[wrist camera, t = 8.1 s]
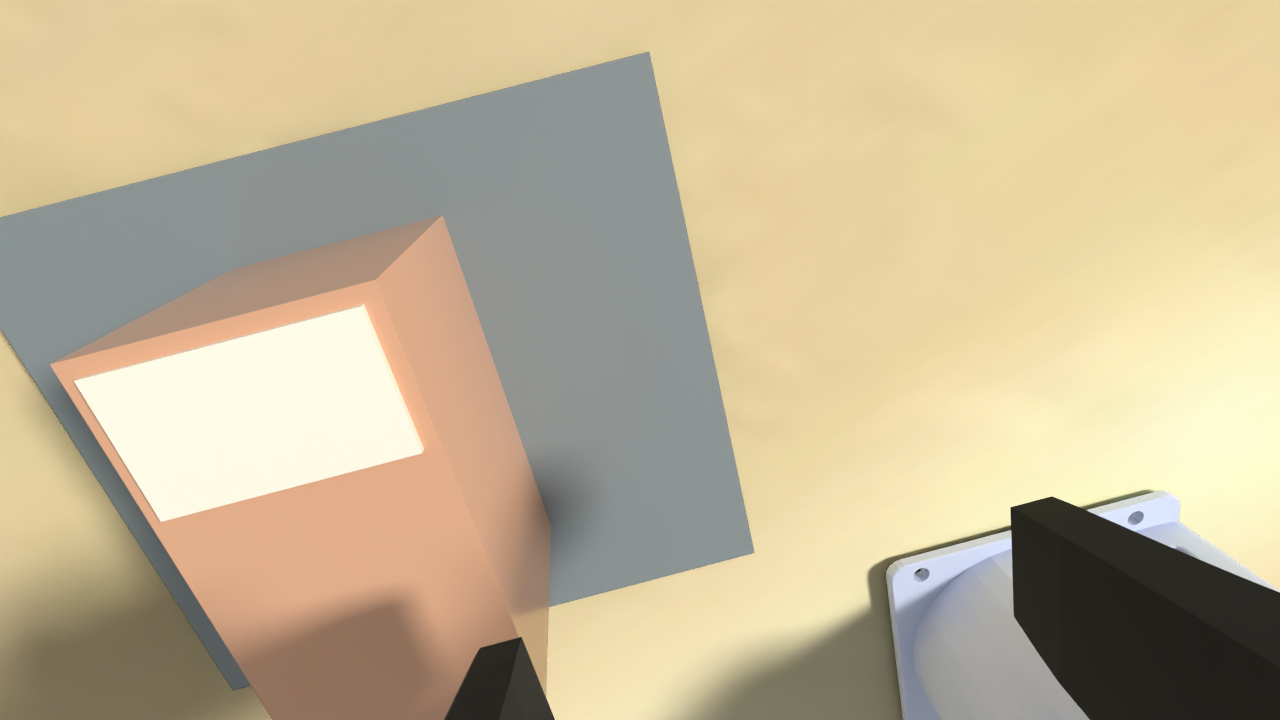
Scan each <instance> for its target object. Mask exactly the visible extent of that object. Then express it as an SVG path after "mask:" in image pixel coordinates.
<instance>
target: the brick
mask: <svg viewBox="0 0 1280 720" xmlns="http://www.w3.org/2000/svg"><path fill="white" fill-rule="evenodd" d="M50 366H51V367H52V369H53V370H54V372H55V374H56V375H57V377H58V378H59V380H60V382H61V383H62V385H63V386H64V388H65V390H66V391H67V393H68V394H69V396H70V397H71V399H72V401H73V402H74V404H75V405H76V407H77V409H78V410H79V412H80V413H81V415H82V417H83V418H84V420H85V421H86V423H87V425H88V426H89V428H90V429H91V431H92V433H93V434H94V436H95V437H96V439H97V441H98V442H99V444H100V445H101V447H102V449H103V450H104V452H105V453H106V455H107V456H108V458H109V460H110V461H111V463H112V464H113V466H114V468H115V469H116V471H117V472H118V474H119V476H120V477H121V479H122V480H123V482H124V484H125V485H126V487H127V488H128V490H129V492H130V493H131V495H132V496H133V498H134V500H135V501H136V503H137V504H138V506H139V507H140V509H141V511H142V512H143V514H144V515H145V517H146V519H147V520H148V522H149V523H150V525H151V527H152V528H153V530H154V531H155V533H156V535H157V536H158V538H159V539H160V541H161V543H162V544H163V546H164V547H165V549H166V551H167V552H168V554H169V555H170V557H171V559H172V560H173V562H174V563H175V565H176V566H177V568H178V570H179V571H180V573H181V574H182V576H183V578H184V579H185V581H186V582H187V584H188V586H189V587H190V589H191V590H192V592H193V594H194V595H195V597H196V598H197V600H198V602H199V603H200V605H201V606H202V608H203V610H204V611H205V613H206V614H207V616H208V618H209V619H210V621H211V622H212V624H213V625H214V627H215V629H216V630H217V632H218V633H219V635H220V637H221V638H222V640H223V641H224V643H225V645H226V646H227V648H228V649H229V651H230V653H231V654H232V656H233V657H234V659H235V661H236V662H237V664H238V665H239V667H240V669H241V670H242V672H243V673H244V675H245V676H246V678H247V680H248V681H249V683H250V684H251V686H252V688H253V689H254V691H255V692H256V694H257V696H258V697H259V699H260V700H261V702H262V704H263V705H264V707H265V708H266V710H267V712H268V713H269V715H270V716H271V718H272V720H444V718H445V716H446V714H447V712H448V710H449V708H450V706H451V704H452V702H453V700H454V698H455V696H456V694H457V692H458V690H459V688H460V686H461V684H462V682H463V680H464V677H465V675H466V673H467V671H468V669H469V667H470V665H471V663H472V661H473V659H474V657H475V655H476V654H477V652H478V650H479V649H480V648H481V647H485V646H489V645H493V644H496V643H500V642H504V641H508V640H512V639H515V638H519V637H522V639H523V641H524V644H525V646H526V649H527V651H528V654H529V656H530V659H531V661H532V664H533V666H534V669H535V671H536V674H537V676H538V679H539V681H540V684H541V686H542V689H543V692H544V694H545V697H546V677H547V644H548V611H549V578H550V545H551V525H550V522H549V519H548V516H547V513H546V510H545V507H544V505H543V502H542V499H541V496H540V493H539V490H538V487H537V485H536V482H535V479H534V476H533V473H532V470H531V467H530V464H529V462H528V459H527V456H526V453H525V450H524V447H523V444H522V442H521V439H520V436H519V433H518V430H517V427H516V424H515V421H514V419H513V416H512V413H511V410H510V407H509V404H508V401H507V399H506V396H505V393H504V390H503V387H502V384H501V381H500V379H499V376H498V373H497V370H496V367H495V364H494V361H493V358H492V356H491V353H490V350H489V347H488V344H487V341H486V338H485V336H484V333H483V330H482V327H481V324H480V321H479V318H478V316H477V313H476V310H475V307H474V304H473V301H472V298H471V295H470V293H469V290H468V287H467V284H466V281H465V278H464V275H463V273H462V270H461V267H460V264H459V261H458V258H457V255H456V252H455V250H454V247H453V244H452V241H451V238H450V235H449V232H448V230H447V227H446V224H445V221H444V218H443V215H440V216H436V217H432V218H428V219H424V220H421V221H417V222H413V223H409V224H405V225H401V226H397V227H394V228H390V229H386V230H382V231H378V232H374V233H370V234H366V235H363V236H359V237H355V238H351V239H347V240H343V241H339V242H336V243H332V244H328V245H324V246H320V247H316V248H312V249H309V250H305V251H301V252H297V253H293V254H289V255H285V256H281V257H278V258H274V259H270V260H266V261H262V262H258V263H254V264H251V265H247V266H243V267H239V268H235V269H232V270H230V271H228V272H226V273H224V274H222V275H221V276H219V277H217V278H215V279H213V280H211V281H209V282H207V283H205V284H203V285H201V286H199V287H198V288H196V289H194V290H192V291H190V292H188V293H186V294H184V295H182V296H180V297H178V298H176V299H174V300H173V301H171V302H169V303H167V304H165V305H163V306H161V307H159V308H157V309H155V310H153V311H151V312H149V313H148V314H146V315H144V316H142V317H140V318H138V319H136V320H134V321H132V322H130V323H128V324H126V325H124V326H123V327H121V328H119V329H117V330H115V331H113V332H111V333H109V334H107V335H105V336H103V337H101V338H99V339H98V340H96V341H94V342H92V343H90V344H88V345H86V346H84V347H82V348H80V349H78V350H76V351H75V352H73V353H71V354H69V355H67V356H65V357H63V358H61V359H59V360H57V361H55V362H53V363H51V364H50Z"/></svg>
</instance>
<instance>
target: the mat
mask: <svg viewBox="0 0 1280 720" xmlns="http://www.w3.org/2000/svg"><path fill="white" fill-rule="evenodd" d="M440 215H443V218H444V221H445V224H446V227H447V230H448V232H449V235H450V238H451V241H452V244H453V247H454V250H455V252H456V255H457V258H458V261H459V264H460V267H461V270H462V273H463V275H464V278H465V281H466V284H467V287H468V290H469V293H470V295H471V298H472V301H473V304H474V307H475V310H476V313H477V316H478V318H479V321H480V324H481V327H482V330H483V333H484V336H485V338H486V341H487V344H488V347H489V350H490V353H491V356H492V358H493V361H494V364H495V367H496V370H497V373H498V376H499V379H500V381H501V384H502V387H503V390H504V393H505V396H506V399H507V401H508V404H509V407H510V410H511V413H512V416H513V419H514V421H515V424H516V427H517V430H518V433H519V436H520V439H521V442H522V444H523V447H524V450H525V453H526V456H527V459H528V462H529V464H530V467H531V470H532V473H533V476H534V479H535V482H536V485H537V487H538V490H539V493H540V496H541V499H542V502H543V505H544V507H545V510H546V513H547V516H548V519H549V522H550V525H551V545H550V578H549V607H551V606H555V605H559V604H562V603H566V602H570V601H574V600H578V599H581V598H585V597H589V596H593V595H597V594H600V593H604V592H608V591H612V590H615V589H619V588H623V587H627V586H631V585H634V584H638V583H642V582H646V581H650V580H653V579H657V578H661V577H665V576H668V575H672V574H676V573H680V572H684V571H687V570H691V569H695V568H699V567H703V566H706V565H710V564H714V563H718V562H721V561H725V560H729V559H733V558H737V557H740V556H744V555H748V554H752V553H754V549H753V544H752V539H751V534H750V529H749V525H748V520H747V515H746V510H745V506H744V501H743V496H742V491H741V487H740V482H739V477H738V472H737V468H736V463H735V458H734V453H733V449H732V444H731V439H730V434H729V429H728V425H727V420H726V415H725V410H724V406H723V401H722V396H721V391H720V387H719V382H718V377H717V372H716V368H715V363H714V358H713V353H712V348H711V344H710V339H709V334H708V329H707V325H706V320H705V315H704V310H703V306H702V301H701V296H700V291H699V287H698V282H697V277H696V272H695V268H694V263H693V258H692V253H691V248H690V244H689V239H688V234H687V229H686V225H685V220H684V215H683V210H682V206H681V201H680V196H679V191H678V187H677V182H676V177H675V172H674V168H673V163H672V158H671V153H670V148H669V144H668V139H667V134H666V129H665V125H664V120H663V115H662V110H661V106H660V101H659V96H658V91H657V87H656V82H655V77H654V72H653V67H652V63H651V58H650V53H649V52H646V53H642V54H638V55H634V56H630V57H626V58H622V59H618V60H614V61H610V62H606V63H603V64H599V65H595V66H591V67H587V68H583V69H579V70H575V71H571V72H567V73H563V74H559V75H556V76H552V77H548V78H544V79H540V80H536V81H532V82H528V83H524V84H520V85H516V86H513V87H509V88H505V89H501V90H497V91H493V92H489V93H485V94H481V95H477V96H473V97H470V98H466V99H462V100H458V101H454V102H450V103H446V104H442V105H438V106H434V107H430V108H427V109H423V110H419V111H415V112H411V113H407V114H403V115H399V116H395V117H391V118H387V119H383V120H380V121H376V122H372V123H368V124H364V125H360V126H356V127H352V128H348V129H344V130H340V131H337V132H333V133H329V134H325V135H321V136H317V137H313V138H309V139H305V140H301V141H297V142H294V143H290V144H286V145H282V146H278V147H274V148H270V149H266V150H262V151H258V152H254V153H250V154H247V155H243V156H239V157H235V158H231V159H227V160H223V161H219V162H215V163H211V164H207V165H204V166H200V167H196V168H192V169H188V170H184V171H180V172H176V173H172V174H168V175H164V176H161V177H157V178H153V179H149V180H145V181H141V182H137V183H133V184H129V185H125V186H121V187H118V188H114V189H110V190H106V191H102V192H98V193H94V194H90V195H86V196H82V197H78V198H74V199H71V200H67V201H63V202H59V203H55V204H51V205H47V206H43V207H39V208H35V209H31V210H28V211H24V212H20V213H16V214H12V215H8V216H4V217H0V329H1V330H2V332H3V333H4V335H5V336H6V338H7V339H8V341H9V343H10V344H11V346H12V347H13V349H14V350H15V352H16V353H17V355H18V357H19V358H20V360H21V361H22V363H23V364H24V366H25V367H26V369H27V371H28V372H29V374H30V375H31V377H32V378H33V380H34V382H35V383H36V385H37V386H38V388H39V389H40V391H41V392H42V394H43V396H44V397H45V399H46V400H47V402H48V403H49V405H50V406H51V408H52V410H53V411H54V413H55V414H56V416H57V417H58V419H59V420H60V422H61V424H62V425H63V427H64V428H65V430H66V431H67V433H68V434H69V436H70V438H71V439H72V441H73V442H74V444H75V445H76V447H77V448H78V450H79V452H80V453H81V455H82V456H83V458H84V459H85V461H86V463H87V464H88V466H89V467H90V469H91V470H92V472H93V473H94V475H95V477H96V478H97V480H98V481H99V483H100V484H101V486H102V487H103V489H104V491H105V492H106V494H107V495H108V497H109V498H110V500H111V501H112V503H113V505H114V506H115V508H116V509H117V511H118V512H119V514H120V515H121V517H122V519H123V520H124V522H125V523H126V525H127V526H128V528H129V529H130V531H131V533H132V534H133V536H134V537H135V539H136V540H137V542H138V544H139V545H140V547H141V548H142V550H143V551H144V553H145V554H146V556H147V558H148V559H149V561H150V562H151V564H152V565H153V567H154V568H155V570H156V572H157V573H158V575H159V576H160V578H161V579H162V581H163V582H164V584H165V586H166V587H167V589H168V590H169V592H170V593H171V595H172V596H173V598H174V600H175V601H176V603H177V604H178V606H179V607H180V609H181V610H182V612H183V614H184V615H185V617H186V618H187V620H188V621H189V623H190V624H191V626H192V628H193V629H194V631H195V632H196V634H197V635H198V637H199V639H200V640H201V642H202V643H203V645H204V646H205V648H206V649H207V651H208V653H209V654H210V656H211V657H212V659H213V660H214V662H215V663H216V665H217V667H218V668H219V670H220V671H221V673H222V674H223V676H224V677H225V679H226V681H227V682H228V684H229V685H230V687H231V688H232V690H237V689H241V688H245V687H248V686H251V684H250V683H249V681H248V680H247V678H246V676H245V675H244V673H243V672H242V670H241V669H240V667H239V665H238V664H237V662H236V661H235V659H234V657H233V656H232V654H231V653H230V651H229V649H228V648H227V646H226V645H225V643H224V641H223V640H222V638H221V637H220V635H219V633H218V632H217V630H216V629H215V627H214V625H213V624H212V622H211V621H210V619H209V618H208V616H207V614H206V613H205V611H204V610H203V608H202V606H201V605H200V603H199V602H198V600H197V598H196V597H195V595H194V594H193V592H192V590H191V589H190V587H189V586H188V584H187V582H186V581H185V579H184V578H183V576H182V574H181V573H180V571H179V570H178V568H177V566H176V565H175V563H174V562H173V560H172V559H171V557H170V555H169V554H168V552H167V551H166V549H165V547H164V546H163V544H162V543H161V541H160V539H159V538H158V536H157V535H156V533H155V531H154V530H153V528H152V527H151V525H150V523H149V522H148V520H147V519H146V517H145V515H144V514H143V512H142V511H141V509H140V507H139V506H138V504H137V503H136V501H135V500H134V498H133V496H132V495H131V493H130V492H129V490H128V488H127V487H126V485H125V484H124V482H123V480H122V479H121V477H120V476H119V474H118V472H117V471H116V469H115V468H114V466H113V464H112V463H111V461H110V460H109V458H108V456H107V455H106V453H105V452H104V450H103V449H102V447H101V445H100V444H99V442H98V441H97V439H96V437H95V436H94V434H93V433H92V431H91V429H90V428H89V426H88V425H87V423H86V421H85V420H84V418H83V417H82V415H81V413H80V412H79V410H78V409H77V407H76V405H75V404H74V402H73V401H72V399H71V397H70V396H69V394H68V393H67V391H66V390H65V388H64V386H63V385H62V383H61V382H60V380H59V378H58V377H57V375H56V374H55V372H54V370H53V369H52V367H51V366H50V364H51V363H53V362H55V361H57V360H59V359H61V358H63V357H65V356H67V355H69V354H71V353H73V352H75V351H76V350H78V349H80V348H82V347H84V346H86V345H88V344H90V343H92V342H94V341H96V340H98V339H99V338H101V337H103V336H105V335H107V334H109V333H111V332H113V331H115V330H117V329H119V328H121V327H123V326H124V325H126V324H128V323H130V322H132V321H134V320H136V319H138V318H140V317H142V316H144V315H146V314H148V313H149V312H151V311H153V310H155V309H157V308H159V307H161V306H163V305H165V304H167V303H169V302H171V301H173V300H174V299H176V298H178V297H180V296H182V295H184V294H186V293H188V292H190V291H192V290H194V289H196V288H198V287H199V286H201V285H203V284H205V283H207V282H209V281H211V280H213V279H215V278H217V277H219V276H221V275H222V274H224V273H226V272H228V271H230V270H232V269H235V268H239V267H243V266H247V265H251V264H254V263H258V262H262V261H266V260H270V259H274V258H278V257H281V256H285V255H289V254H293V253H297V252H301V251H305V250H309V249H312V248H316V247H320V246H324V245H328V244H332V243H336V242H339V241H343V240H347V239H351V238H355V237H359V236H363V235H366V234H370V233H374V232H378V231H382V230H386V229H390V228H394V227H397V226H401V225H405V224H409V223H413V222H417V221H421V220H424V219H428V218H432V217H436V216H440Z"/></svg>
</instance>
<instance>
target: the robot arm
mask: <svg viewBox="0 0 1280 720" xmlns="http://www.w3.org/2000/svg"><path fill="white" fill-rule="evenodd" d="M1179 513H1180V501H1179V499H1178V498H1177V497H1176V496H1174V495H1172V494H1171V493H1169V492H1167V491H1164V490H1163V491H1156V492H1153V493H1149V494H1145V495H1141V496H1137V497H1134V498H1130V499H1126V500H1122V501H1119V502H1115V503H1111V504H1107V505H1103V506H1100V507H1096V508H1092V509H1088V510H1084V509H1082V508H1079V507H1077V506H1074V505H1072V504H1070V503H1067V502H1064V501H1062V500H1059V499H1057V498H1054V497H1048V498H1045V499H1041V500H1037V501H1033V502H1029V503H1026V504H1022V505H1018V506H1014V507H1011V530H1009V531H1005V532H1002V533H998V534H994V535H990V536H986V537H983V538H979V539H975V540H971V541H968V542H964V543H960V544H956V545H953V546H949V547H945V548H941V549H937V550H934V551H930V552H926V553H922V554H919V555H915V556H911V557H907V558H903V559H900V560H897V561H895V562H893V563H892V564H891V565H890V566H889V567H888V569H887V571H886V581H887V589H888V598H889V606H890V614H891V623H892V631H893V640H894V648H895V656H896V665H897V673H898V682H899V690H900V699H901V707H902V715H903V720H1280V591H1279V590H1278V589H1277V588H1275V587H1274V586H1272V585H1271V584H1269V583H1268V582H1266V581H1265V580H1264V579H1262V578H1261V577H1259V576H1258V575H1256V574H1255V573H1253V572H1252V571H1250V570H1249V569H1248V568H1246V567H1245V566H1243V565H1242V564H1240V563H1239V562H1237V561H1236V560H1235V559H1233V558H1232V557H1230V556H1229V555H1227V554H1226V553H1224V552H1223V551H1222V550H1220V549H1219V548H1217V547H1216V546H1214V545H1213V544H1211V543H1210V542H1208V541H1207V540H1206V539H1204V538H1203V537H1201V536H1200V535H1198V534H1197V533H1195V532H1194V531H1193V530H1191V529H1190V528H1188V527H1187V526H1185V525H1184V524H1182V523H1181V522H1179ZM921 568H923V569H922V570H921V571H920V572H918V573H915V572H916V571H917V570H919V569H921ZM444 720H555V719H554V717H553V714H552V712H551V709H550V707H549V704H548V702H547V699H546V697H545V694H544V692H543V689H542V686H541V684H540V681H539V679H538V676H537V674H536V671H535V669H534V666H533V664H532V661H531V659H530V656H529V654H528V651H527V649H526V646H525V644H524V641H523V639H522V637H519V638H515V639H512V640H508V641H504V642H500V643H496V644H493V645H489V646H485V647H481V648H480V649H479V650H478V652H477V654H476V655H475V657H474V659H473V661H472V663H471V665H470V667H469V669H468V671H467V673H466V675H465V677H464V680H463V682H462V684H461V686H460V688H459V690H458V692H457V694H456V696H455V698H454V700H453V702H452V704H451V706H450V708H449V710H448V712H447V714H446V716H445V718H444Z"/></svg>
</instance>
